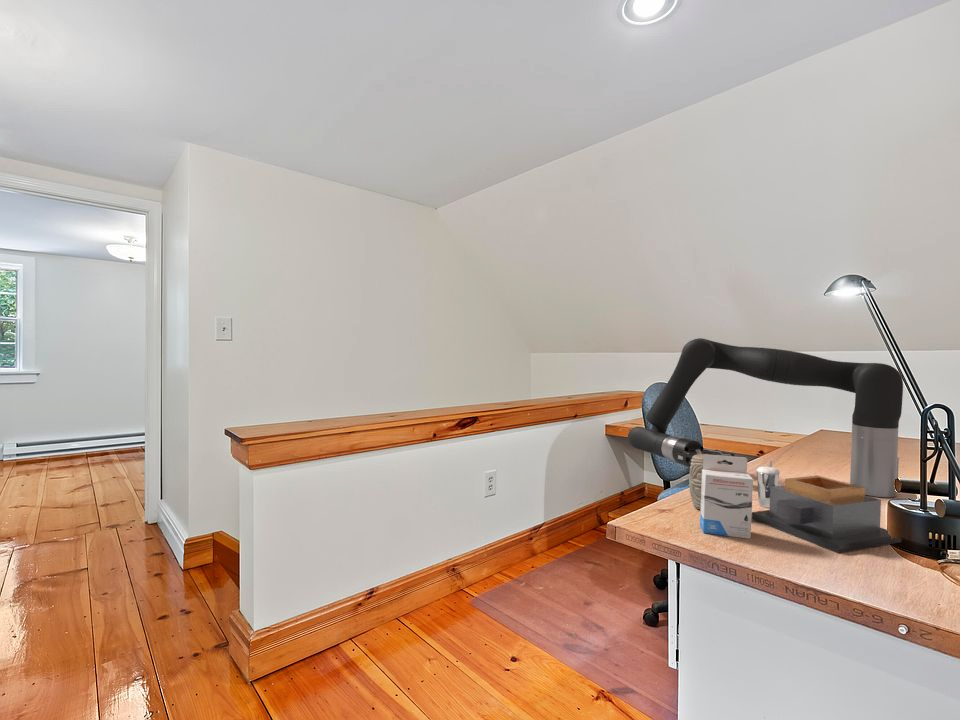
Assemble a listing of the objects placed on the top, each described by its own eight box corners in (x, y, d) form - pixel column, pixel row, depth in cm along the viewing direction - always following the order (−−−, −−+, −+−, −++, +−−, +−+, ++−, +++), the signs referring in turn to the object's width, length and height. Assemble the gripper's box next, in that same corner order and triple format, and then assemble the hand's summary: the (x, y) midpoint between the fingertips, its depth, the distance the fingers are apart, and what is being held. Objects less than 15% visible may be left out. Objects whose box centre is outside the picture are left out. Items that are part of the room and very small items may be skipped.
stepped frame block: (809, 511, 109) (810, 469, 109) (901, 542, 92) (903, 492, 92) (748, 519, 103) (749, 475, 103) (834, 553, 86) (836, 500, 86)
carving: (695, 502, 114) (696, 451, 114) (729, 510, 109) (730, 457, 109) (683, 507, 110) (684, 455, 110) (717, 516, 105) (719, 461, 104)
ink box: (702, 533, 95) (704, 458, 94) (699, 525, 100) (701, 453, 99) (751, 539, 92) (754, 462, 92) (746, 530, 97) (748, 457, 97)
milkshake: (781, 505, 113) (782, 462, 113) (775, 510, 109) (777, 466, 109) (759, 500, 116) (760, 459, 116) (753, 505, 112) (754, 462, 112)
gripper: (662, 438, 136) (706, 451, 121) (702, 436, 141) (750, 448, 126) (661, 465, 136) (705, 480, 121) (701, 462, 141) (748, 477, 126)
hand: (728, 464), depth 123 cm, fingers open, 8 cm apart
